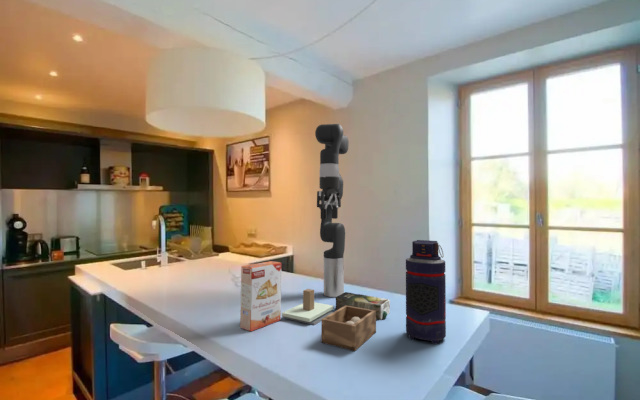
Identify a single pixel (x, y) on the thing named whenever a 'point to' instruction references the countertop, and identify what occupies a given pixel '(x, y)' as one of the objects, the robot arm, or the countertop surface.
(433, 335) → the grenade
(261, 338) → the countertop surface
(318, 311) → the lid
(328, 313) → the plate
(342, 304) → the juice carton
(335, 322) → the egg box
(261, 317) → the cracker box
